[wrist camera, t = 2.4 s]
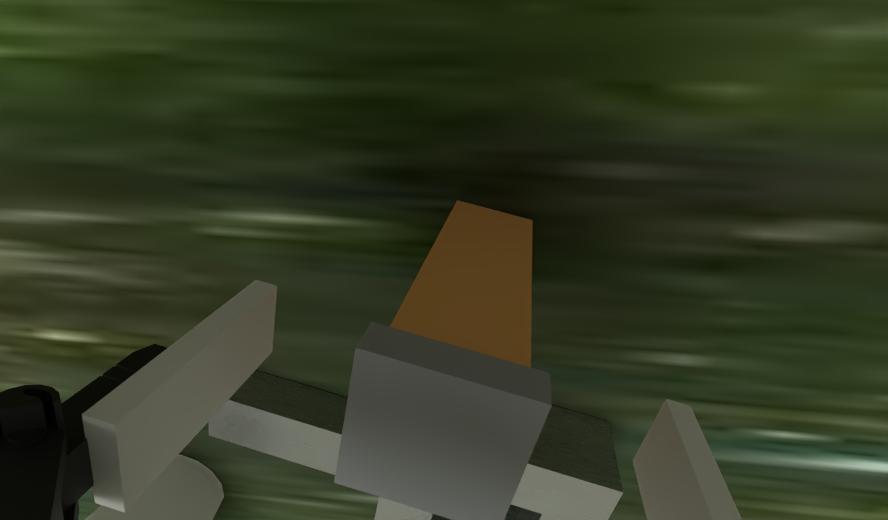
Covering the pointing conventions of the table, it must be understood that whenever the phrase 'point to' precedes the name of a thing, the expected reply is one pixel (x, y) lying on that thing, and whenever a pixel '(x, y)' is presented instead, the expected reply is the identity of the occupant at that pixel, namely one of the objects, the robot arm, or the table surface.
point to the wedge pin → (451, 378)
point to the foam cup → (173, 495)
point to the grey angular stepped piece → (317, 446)
